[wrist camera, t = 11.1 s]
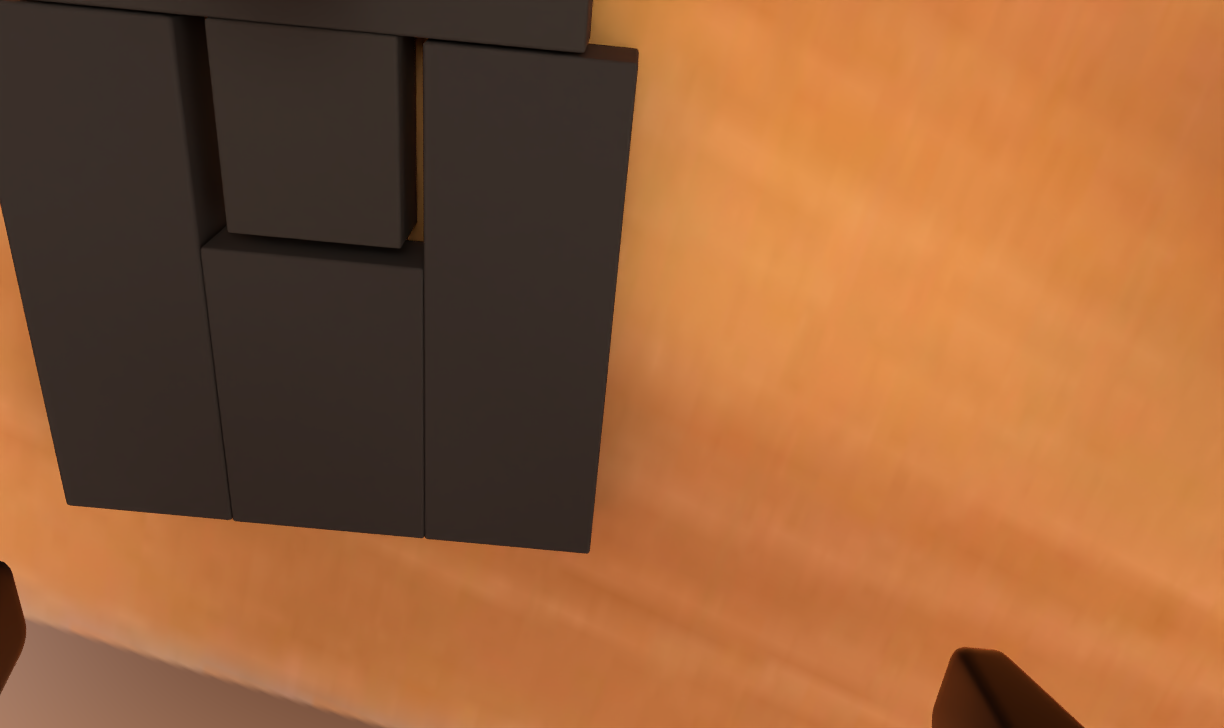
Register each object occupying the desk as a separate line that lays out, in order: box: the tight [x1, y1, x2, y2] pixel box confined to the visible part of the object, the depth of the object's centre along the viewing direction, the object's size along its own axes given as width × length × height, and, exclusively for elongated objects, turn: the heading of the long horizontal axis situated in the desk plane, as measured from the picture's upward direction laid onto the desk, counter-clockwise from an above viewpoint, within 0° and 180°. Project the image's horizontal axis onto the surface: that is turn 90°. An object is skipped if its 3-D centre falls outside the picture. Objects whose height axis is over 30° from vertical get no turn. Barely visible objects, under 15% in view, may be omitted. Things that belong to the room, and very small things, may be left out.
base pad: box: [0, 0, 639, 553], centre depth 20 cm, size 12×11×2 cm
